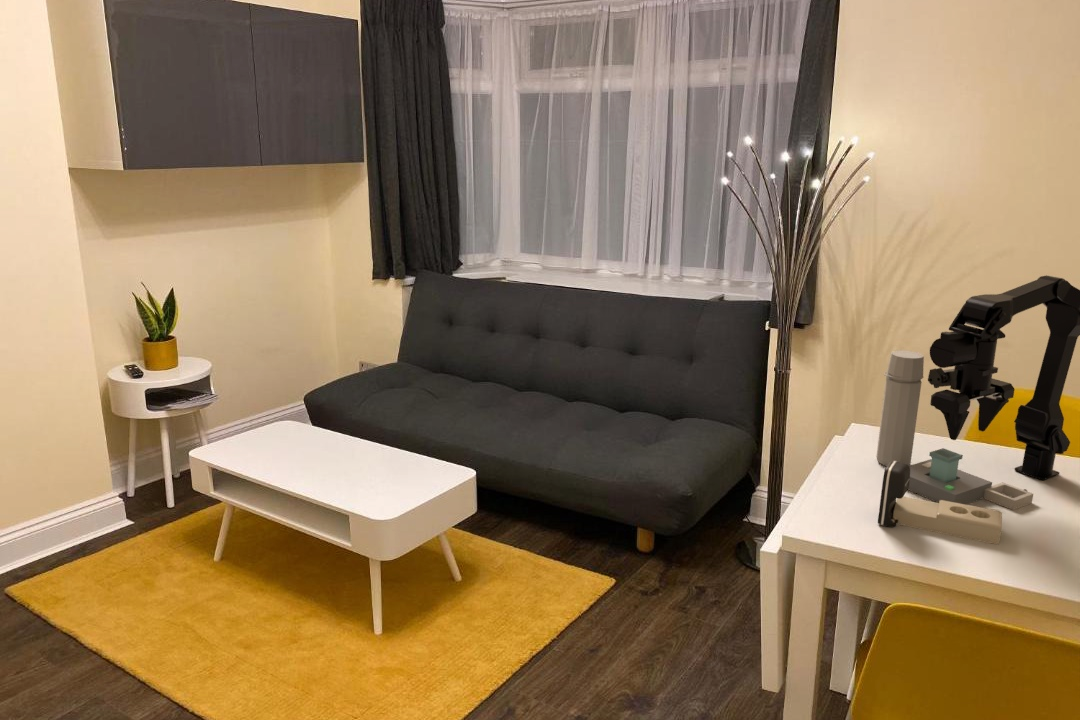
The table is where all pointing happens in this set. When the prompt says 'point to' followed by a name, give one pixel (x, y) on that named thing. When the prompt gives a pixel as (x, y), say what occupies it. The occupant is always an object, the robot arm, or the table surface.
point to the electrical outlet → (950, 518)
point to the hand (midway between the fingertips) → (967, 435)
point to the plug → (944, 465)
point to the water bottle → (900, 407)
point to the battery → (892, 491)
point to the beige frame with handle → (1013, 503)
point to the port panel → (946, 485)
